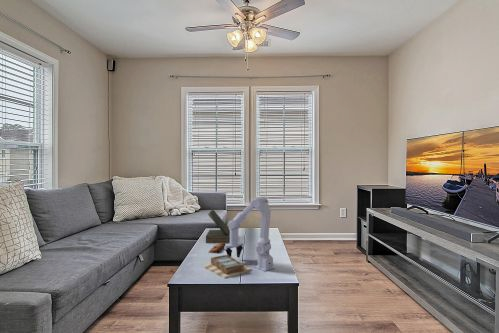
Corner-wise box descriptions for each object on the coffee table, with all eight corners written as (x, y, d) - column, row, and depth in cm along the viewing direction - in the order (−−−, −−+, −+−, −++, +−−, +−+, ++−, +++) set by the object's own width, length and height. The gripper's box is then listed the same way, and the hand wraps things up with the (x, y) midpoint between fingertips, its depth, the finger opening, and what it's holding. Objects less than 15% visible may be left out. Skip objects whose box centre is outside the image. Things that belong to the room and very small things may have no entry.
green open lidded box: (229, 243, 239) (229, 213, 239) (205, 243, 240) (205, 213, 240) (231, 236, 262) (231, 208, 262) (209, 236, 263) (209, 208, 262)
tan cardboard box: (244, 270, 176) (244, 264, 176) (226, 274, 170) (226, 268, 170) (227, 259, 195) (227, 254, 195) (210, 263, 189) (210, 257, 189)
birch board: (251, 270, 180) (251, 268, 180) (224, 278, 167) (224, 276, 167) (228, 260, 198) (228, 258, 198) (202, 266, 185) (202, 265, 185)
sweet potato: (215, 245, 232) (219, 238, 231) (222, 250, 231) (226, 243, 230) (207, 252, 214) (212, 245, 214) (215, 258, 213) (220, 250, 212)
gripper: (239, 235, 203) (239, 254, 204) (221, 238, 194) (221, 258, 194) (245, 237, 198) (245, 257, 198) (227, 240, 189) (227, 261, 189)
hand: (234, 258), depth 196 cm, fingers open, 6 cm apart
